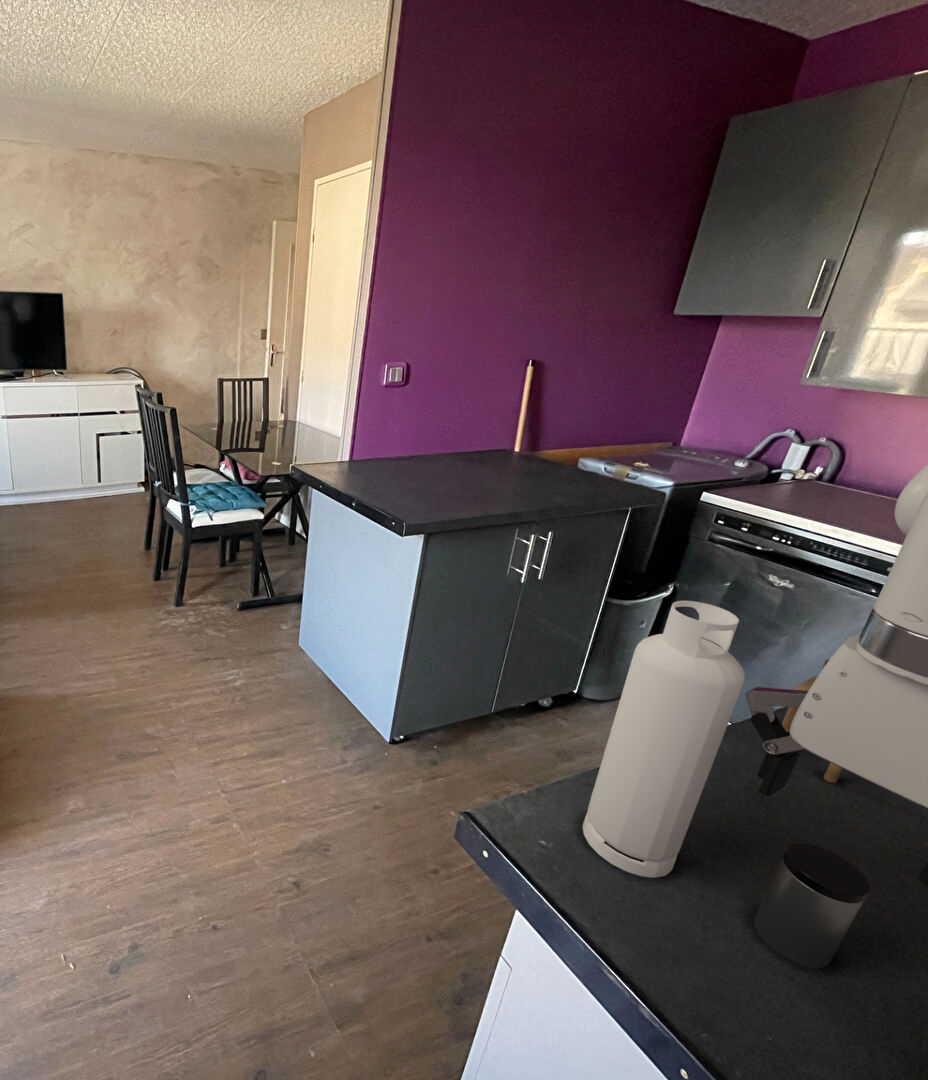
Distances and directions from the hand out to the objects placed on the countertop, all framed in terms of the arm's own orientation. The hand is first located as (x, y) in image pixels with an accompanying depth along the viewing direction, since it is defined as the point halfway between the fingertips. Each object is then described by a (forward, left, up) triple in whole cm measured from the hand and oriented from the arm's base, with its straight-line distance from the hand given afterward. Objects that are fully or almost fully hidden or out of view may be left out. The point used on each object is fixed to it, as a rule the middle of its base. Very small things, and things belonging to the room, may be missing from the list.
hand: (844, 829), depth 48 cm
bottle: (+2, -13, -14) cm, 19 cm away
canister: (0, 0, -13) cm, 13 cm away
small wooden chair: (-33, -10, -13) cm, 37 cm away
